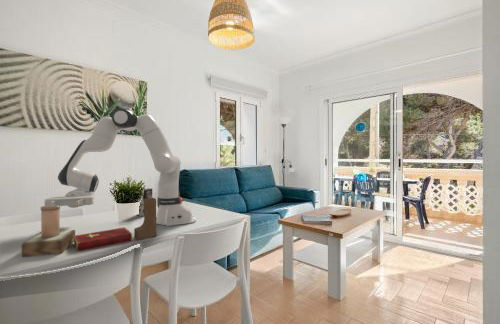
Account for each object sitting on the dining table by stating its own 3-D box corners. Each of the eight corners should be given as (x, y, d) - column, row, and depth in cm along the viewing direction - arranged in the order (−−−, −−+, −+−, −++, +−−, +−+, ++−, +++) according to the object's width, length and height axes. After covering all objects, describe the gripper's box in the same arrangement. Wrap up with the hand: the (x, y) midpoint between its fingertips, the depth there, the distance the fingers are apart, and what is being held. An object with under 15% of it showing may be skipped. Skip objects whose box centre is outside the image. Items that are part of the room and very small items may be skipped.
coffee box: (144, 216, 163) (144, 190, 163) (135, 215, 164) (135, 189, 164) (152, 212, 172) (152, 188, 171) (144, 212, 173) (143, 188, 173)
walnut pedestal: (75, 240, 118) (75, 229, 118) (61, 253, 103) (61, 240, 103) (40, 243, 114) (40, 231, 114) (22, 256, 100) (21, 243, 99)
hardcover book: (132, 241, 119) (132, 232, 118) (76, 253, 105) (76, 242, 105) (124, 235, 128) (124, 226, 128) (73, 244, 114) (72, 235, 114)
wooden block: (136, 240, 119) (136, 200, 118) (134, 237, 123) (133, 199, 122) (156, 236, 125) (156, 198, 124) (153, 234, 128) (153, 197, 128)
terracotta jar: (62, 232, 113) (62, 204, 112) (56, 237, 106) (56, 207, 106) (44, 233, 111) (44, 205, 110) (37, 238, 105) (37, 208, 104)
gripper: (51, 193, 132) (37, 198, 119) (96, 191, 138) (89, 195, 125) (51, 206, 132) (38, 212, 119) (97, 203, 138) (89, 209, 125)
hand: (64, 203), depth 122 cm, fingers open, 8 cm apart
